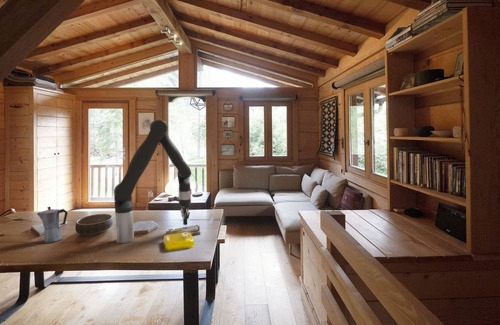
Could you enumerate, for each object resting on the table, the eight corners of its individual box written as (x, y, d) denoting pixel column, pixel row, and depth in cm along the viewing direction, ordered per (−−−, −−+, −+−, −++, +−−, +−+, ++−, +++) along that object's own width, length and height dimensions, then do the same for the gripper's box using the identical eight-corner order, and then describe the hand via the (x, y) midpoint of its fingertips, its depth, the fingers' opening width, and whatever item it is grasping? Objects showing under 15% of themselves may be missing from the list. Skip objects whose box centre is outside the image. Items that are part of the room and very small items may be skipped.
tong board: (170, 239, 163) (170, 237, 163) (166, 233, 173) (165, 231, 173) (200, 234, 172) (200, 231, 172) (194, 228, 182) (194, 226, 182)
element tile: (163, 242, 161) (163, 234, 160) (189, 238, 166) (189, 230, 166) (165, 252, 147) (165, 243, 147) (194, 247, 152) (194, 239, 152)
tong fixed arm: (169, 235, 165) (169, 231, 165) (168, 233, 169) (167, 229, 169) (200, 230, 174) (199, 226, 174) (197, 228, 178) (197, 224, 178)
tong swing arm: (175, 233, 169) (175, 229, 169) (174, 232, 170) (174, 228, 170) (198, 229, 176) (198, 225, 176) (198, 228, 178) (197, 224, 177)
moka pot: (41, 238, 166) (38, 205, 164) (71, 235, 171) (69, 203, 169) (35, 244, 157) (32, 209, 155) (67, 241, 162) (65, 207, 160)
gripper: (176, 196, 181) (176, 222, 183) (181, 200, 170) (182, 228, 171) (187, 195, 185) (187, 221, 187) (193, 199, 174) (194, 226, 175)
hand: (185, 224), depth 179 cm, fingers closed
